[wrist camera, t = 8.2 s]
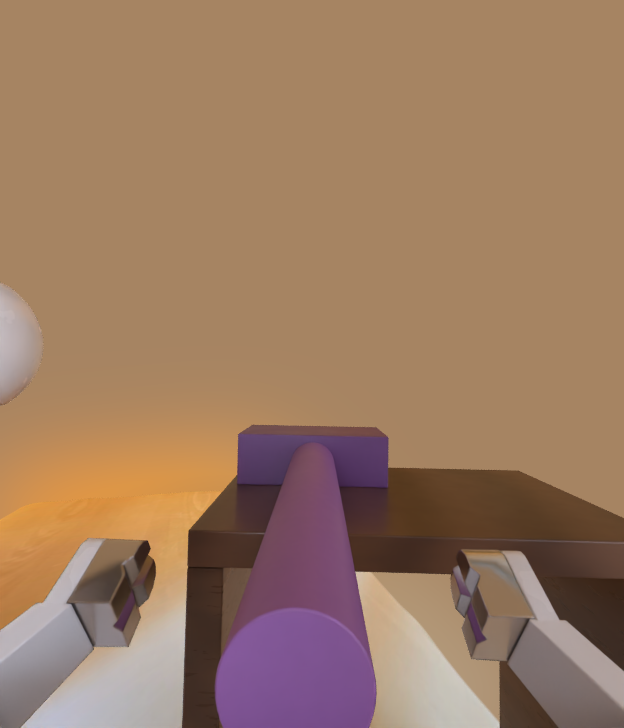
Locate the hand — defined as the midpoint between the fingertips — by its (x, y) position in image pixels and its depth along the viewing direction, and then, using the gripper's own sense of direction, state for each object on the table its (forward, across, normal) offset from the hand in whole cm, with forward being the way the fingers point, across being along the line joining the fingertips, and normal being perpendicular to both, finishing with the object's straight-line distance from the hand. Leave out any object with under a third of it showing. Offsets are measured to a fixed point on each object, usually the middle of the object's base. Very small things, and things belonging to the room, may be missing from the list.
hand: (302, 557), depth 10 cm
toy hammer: (+5, 0, +5) cm, 7 cm away
